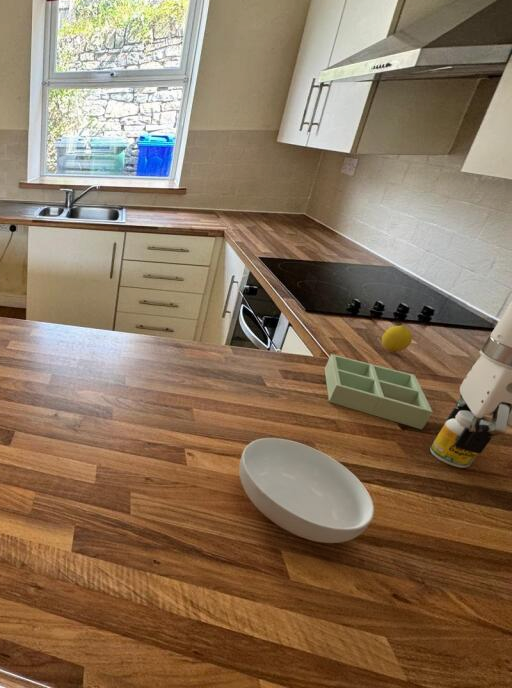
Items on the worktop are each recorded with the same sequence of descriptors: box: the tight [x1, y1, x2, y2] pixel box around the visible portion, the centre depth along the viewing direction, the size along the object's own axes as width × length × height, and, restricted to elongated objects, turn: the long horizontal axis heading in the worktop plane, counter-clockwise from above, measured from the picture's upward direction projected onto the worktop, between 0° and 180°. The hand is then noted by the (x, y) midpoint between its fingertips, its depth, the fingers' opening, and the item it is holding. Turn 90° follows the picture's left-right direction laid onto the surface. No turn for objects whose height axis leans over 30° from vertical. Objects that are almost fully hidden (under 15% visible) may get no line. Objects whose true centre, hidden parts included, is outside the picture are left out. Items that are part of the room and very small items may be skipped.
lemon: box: [381, 325, 413, 353], centre depth 108 cm, size 6×6×8 cm
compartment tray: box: [324, 353, 434, 430], centre depth 90 cm, size 15×15×5 cm
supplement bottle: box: [429, 410, 491, 469], centre depth 73 cm, size 5×5×10 cm
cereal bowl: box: [238, 437, 375, 544], centre depth 63 cm, size 17×17×7 cm
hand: (461, 437), depth 73 cm, fingers closed on supplement bottle, 5 cm apart
